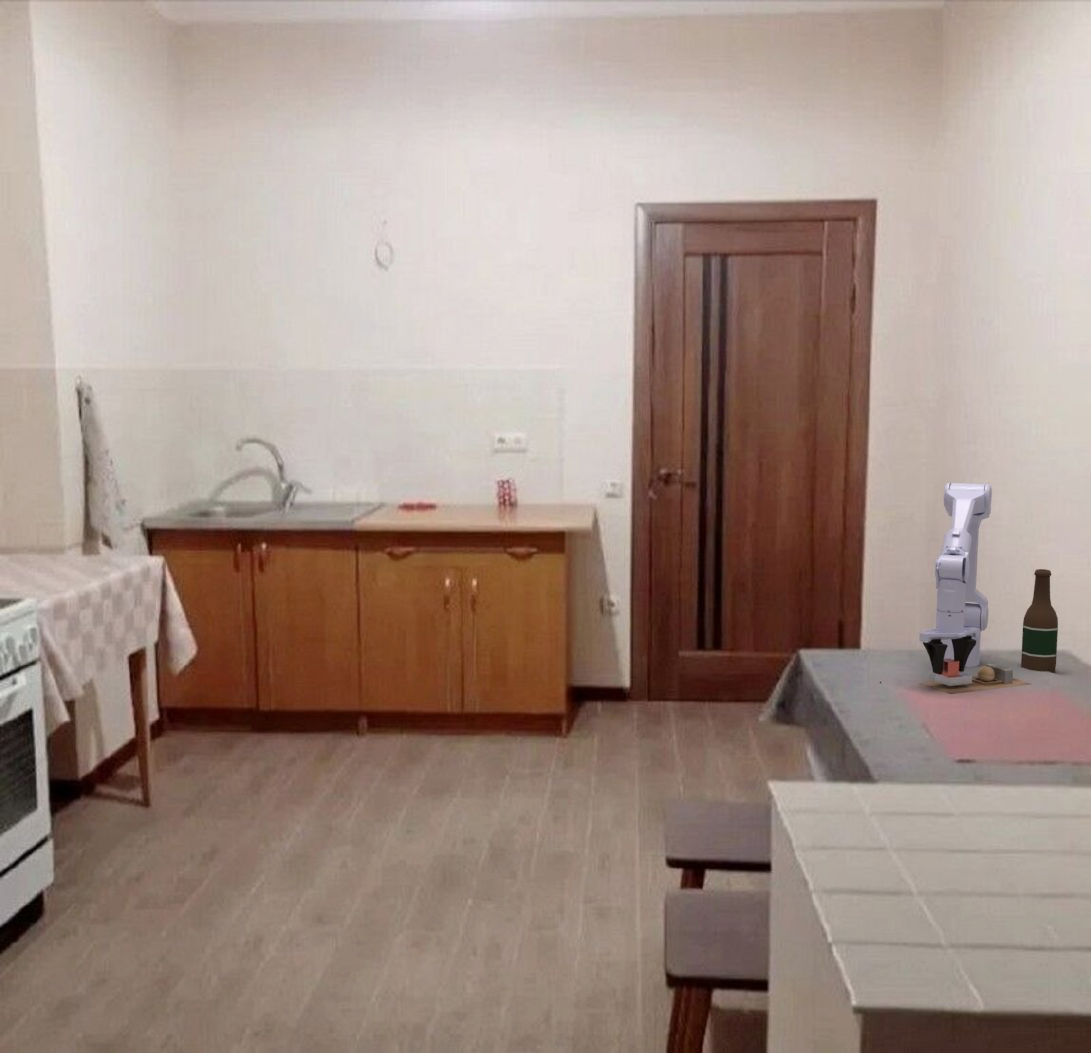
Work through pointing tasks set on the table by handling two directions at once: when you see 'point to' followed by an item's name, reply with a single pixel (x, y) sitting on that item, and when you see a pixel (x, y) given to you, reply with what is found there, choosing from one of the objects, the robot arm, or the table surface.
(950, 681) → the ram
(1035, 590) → the beer bottle
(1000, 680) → the wooden puzzle board
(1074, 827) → the table surface
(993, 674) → the walnut
